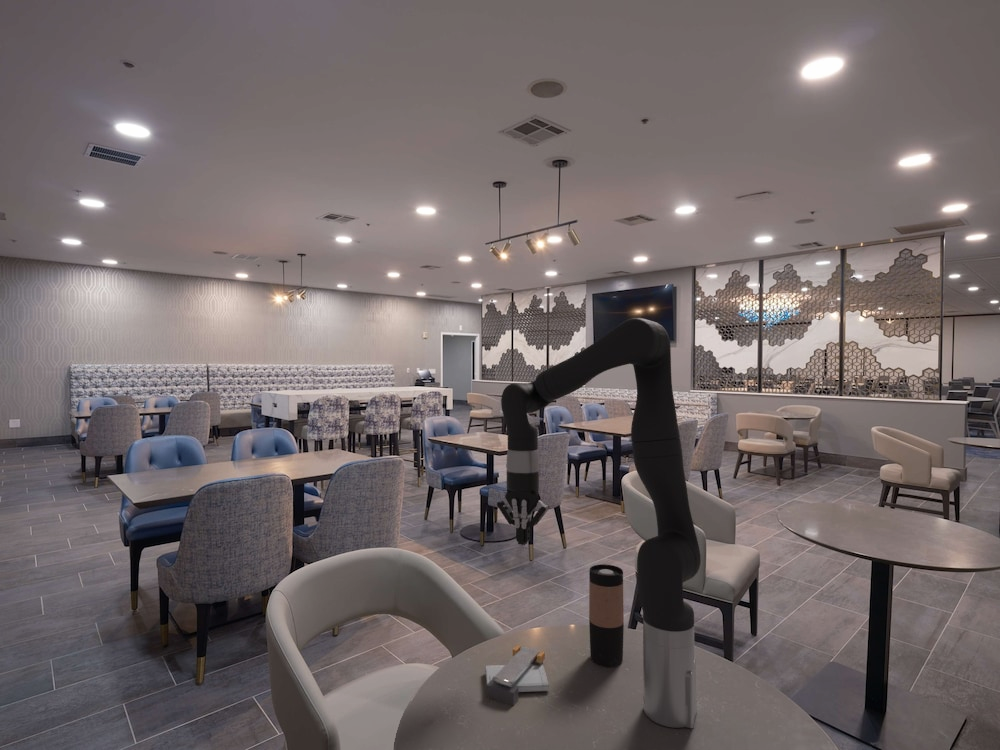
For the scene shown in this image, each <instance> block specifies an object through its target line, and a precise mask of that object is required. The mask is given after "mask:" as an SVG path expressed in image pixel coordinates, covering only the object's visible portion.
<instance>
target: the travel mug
mask: <svg viewBox="0 0 1000 750" xmlns="http://www.w3.org/2000/svg"><path fill="white" fill-rule="evenodd" d="M588 576H589V582H588V583H589V585H588V586H589V587H588V588H589V591H588V593H589V594H588V595H589V601H588V603H589V605H588V608H589V610H588V613H589V614H588V617H589V618H588V620H589V621H588V625H589V626H588V627H589V650H590V651H589V653H590V654H589V655H590V660H591V662H593V663H594V664H596V665H598V666H601V667H603V668H616V667H619V666H620V665H622V664H623V661H624V660H623V658H624V631H625V630H624V629H625V628H624V625H625V623H624V622H625V617H624V614H625V613H624V612H625V609H624V570H623V569H622V568H621V567H619V566H616V565H612V564H605V563H604V564H596V565H591V566H590V568H589V575H588Z"/></svg>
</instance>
